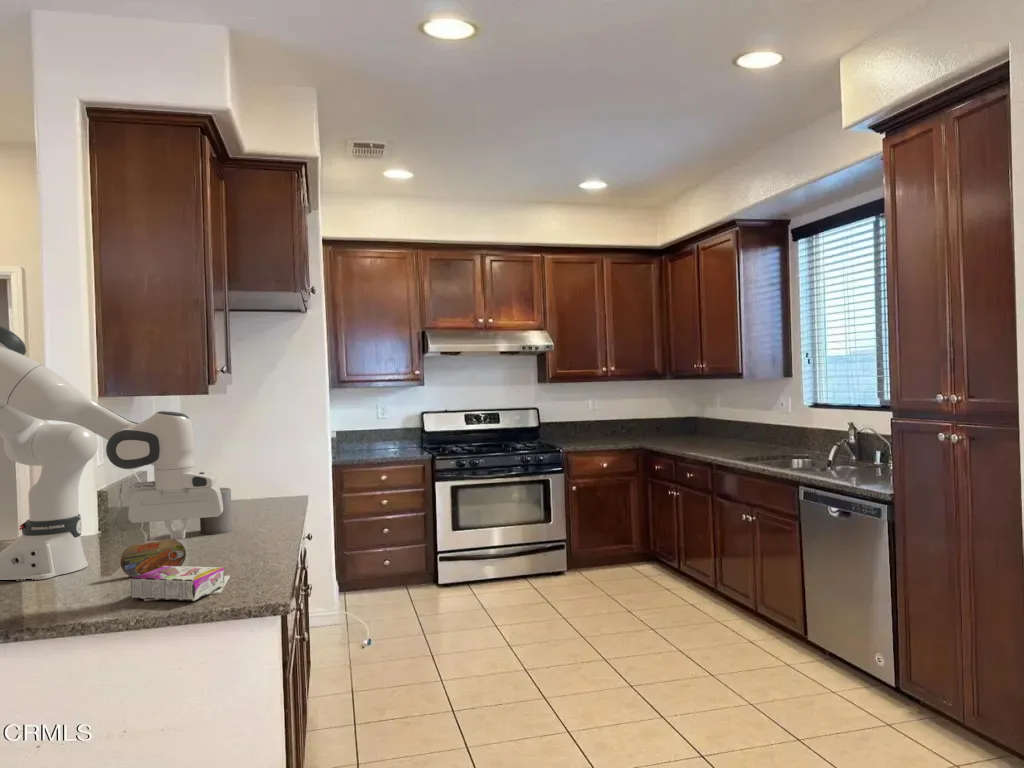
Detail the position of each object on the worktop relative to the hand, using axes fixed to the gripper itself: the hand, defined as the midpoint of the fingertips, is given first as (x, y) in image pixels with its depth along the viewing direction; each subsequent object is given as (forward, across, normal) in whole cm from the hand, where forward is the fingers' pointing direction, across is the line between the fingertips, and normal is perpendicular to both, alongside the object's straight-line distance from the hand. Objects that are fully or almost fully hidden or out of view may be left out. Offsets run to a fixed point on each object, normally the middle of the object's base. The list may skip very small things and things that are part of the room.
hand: (177, 538), depth 167 cm
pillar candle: (+12, -3, +67) cm, 68 cm away
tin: (+12, -10, +18) cm, 24 cm away
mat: (+12, +2, 0) cm, 12 cm away
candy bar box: (+9, -7, -1) cm, 11 cm away
